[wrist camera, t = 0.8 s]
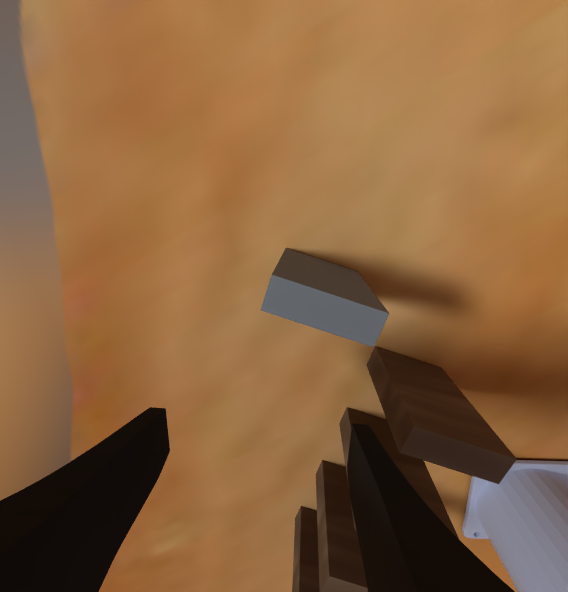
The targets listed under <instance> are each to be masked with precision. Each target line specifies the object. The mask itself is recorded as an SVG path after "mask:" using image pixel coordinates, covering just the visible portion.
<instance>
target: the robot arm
mask: <svg viewBox="0 0 568 592" xmlns="http://www.w3.org/2000/svg"><path fill="white" fill-rule="evenodd" d="M169 452H170V448H169V438H168V428H167V418H166V409H165V408H152V407H150V408H149V409H147V410H146V411H144V412H143V413H141V414H140V415H138V416H137V417H136V418H134V419H133V420H131V421H130V422H129V423H127V424H126V425H124V426H123V427H122V428H120V429H119V430H117V431H116V432H114V433H113V434H112V435H110V436H109V437H107V438H106V439H104V440H103V441H102V442H100V443H99V444H97V445H96V446H94V447H93V448H91V449H90V450H88V451H86V452H85V453H83V454H82V455H80V456H79V457H77V458H76V459H74V460H73V461H71V462H70V463H68V464H66V465H65V466H63V467H61V468H60V469H58V470H56V471H55V472H53V473H51V474H50V475H48V476H46V477H45V478H43V479H41V480H39V481H37V482H36V483H34V484H32V485H30V486H28V487H26V488H25V489H23V490H21V491H19V492H17V493H15V494H13V495H11V496H9V497H7V498H5V499H3V500H1V501H0V592H99V589H100V587H101V585H102V583H103V581H104V579H105V577H106V574H107V572H108V570H109V568H110V566H111V564H112V561H113V559H114V557H115V556H116V554H117V552H118V550H119V548H120V546H121V544H122V542H123V540H124V539H125V537H126V535H127V533H128V532H129V530H130V528H131V526H132V524H133V523H134V521H135V519H136V517H137V516H138V514H139V512H140V510H141V509H142V507H143V505H144V503H145V501H146V500H147V498H148V496H149V494H150V492H151V491H152V489H153V487H154V485H155V483H156V482H157V480H158V478H159V475H160V473H161V471H162V469H163V466H164V464H165V461H166V459H167V456H168V454H169ZM347 473H348V484H349V494H350V500H351V505H352V510H353V516H354V521H355V526H356V531H357V536H358V541H359V546H360V551H361V556H362V561H363V566H364V571H365V577H366V583H367V589H368V592H515V591H513V590H512V589H511V588H510V587H509V586H508V585H507V584H505V583H504V582H503V581H502V580H501V579H500V578H499V577H498V576H496V575H495V574H494V573H493V572H492V571H491V570H490V569H489V568H488V567H487V566H486V565H485V564H484V563H483V562H482V561H481V560H480V559H478V558H477V557H476V556H475V555H474V554H473V553H472V552H471V551H470V550H469V549H468V548H467V547H466V546H465V545H464V544H463V543H462V542H461V541H460V540H459V539H458V538H457V537H456V536H455V535H454V534H453V533H452V532H451V531H450V530H449V529H448V528H447V526H446V525H445V524H444V523H443V522H442V521H441V520H440V519H439V518H438V517H437V515H436V514H435V513H434V512H433V511H432V510H431V509H430V507H429V506H428V505H427V504H426V503H425V502H424V500H423V499H422V498H421V497H420V495H419V494H418V493H417V492H416V490H415V489H414V488H413V487H412V485H411V484H410V483H409V482H408V480H407V479H406V478H405V476H404V475H403V474H402V472H401V471H400V470H399V468H398V467H397V465H396V464H395V463H394V461H393V460H392V458H391V457H390V456H389V454H388V453H387V451H386V450H385V448H384V447H383V445H382V444H381V442H380V441H379V439H378V438H377V436H376V434H375V433H374V431H373V430H372V428H371V427H370V426H369V425H366V424H353V423H352V429H351V437H350V445H349V453H348V462H347ZM462 531H463V533H464V535H465V536H466V537H468V538H481V539H490V541H491V543H492V545H493V546H494V548H495V550H496V552H497V554H498V556H499V557H500V559H501V561H502V563H503V565H504V567H505V568H506V570H507V572H508V574H509V576H510V578H511V579H512V581H513V583H514V585H515V587H516V589H517V590H518V592H568V461H535V460H516V461H515V463H514V464H513V465H512V467H511V468H510V470H509V471H508V472H507V474H506V475H505V476H504V478H503V479H502V481H501V482H500V483H499V484H496V483H493V482H490V481H487V480H484V479H480V478H477V477H474V476H472V479H471V485H470V490H469V496H468V501H467V506H466V512H465V517H464V522H463V528H462Z"/></svg>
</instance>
